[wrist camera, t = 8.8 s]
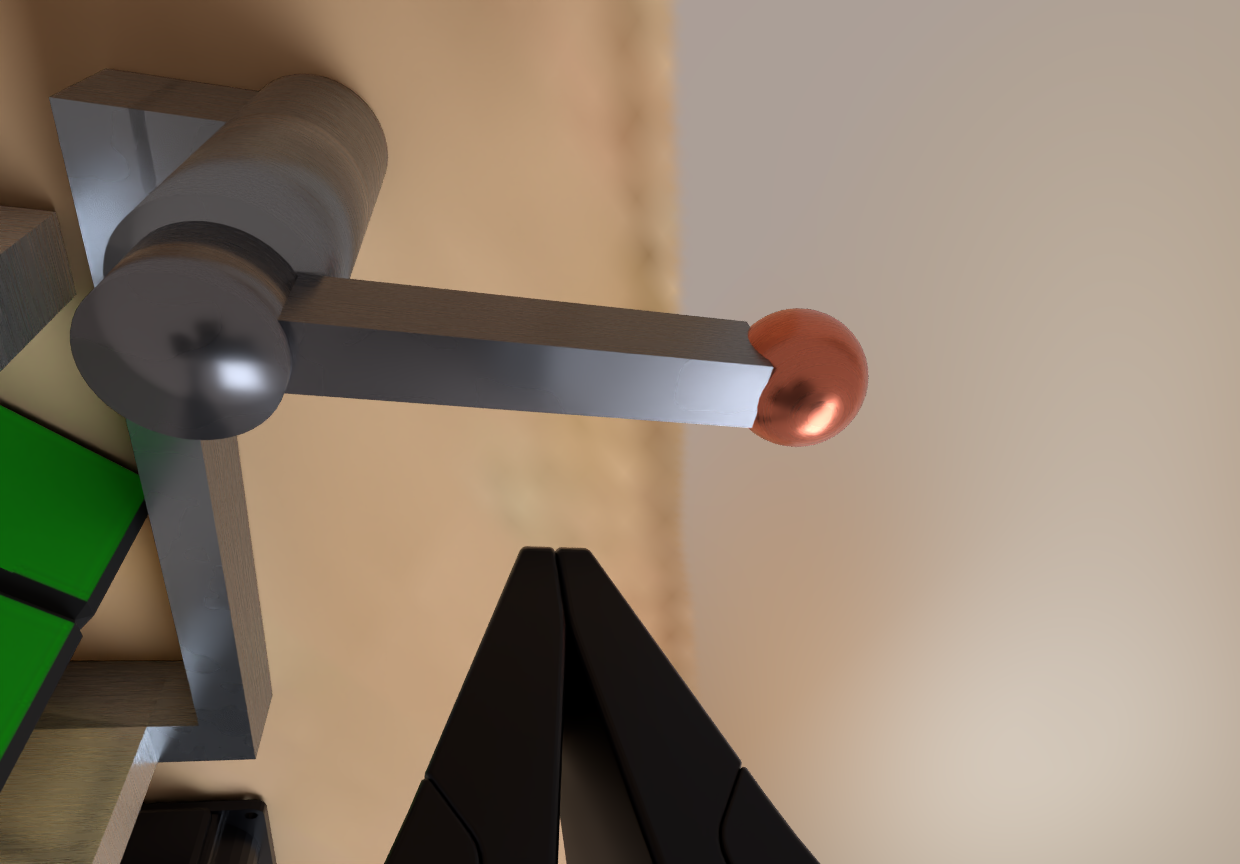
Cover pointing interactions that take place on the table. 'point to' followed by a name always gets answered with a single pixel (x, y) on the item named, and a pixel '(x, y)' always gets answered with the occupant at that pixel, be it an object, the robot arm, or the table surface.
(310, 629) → the table surface
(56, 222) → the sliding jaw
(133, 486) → the puzzle cube
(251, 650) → the base
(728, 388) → the lever
